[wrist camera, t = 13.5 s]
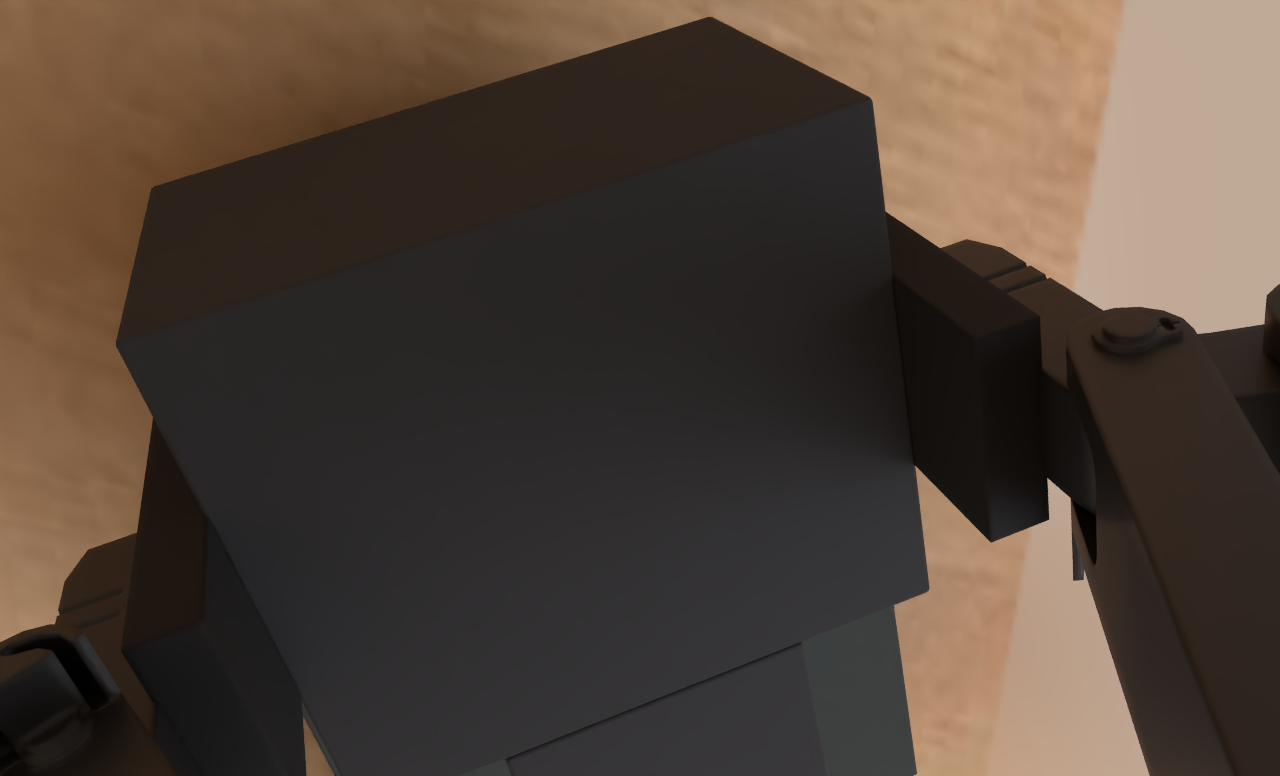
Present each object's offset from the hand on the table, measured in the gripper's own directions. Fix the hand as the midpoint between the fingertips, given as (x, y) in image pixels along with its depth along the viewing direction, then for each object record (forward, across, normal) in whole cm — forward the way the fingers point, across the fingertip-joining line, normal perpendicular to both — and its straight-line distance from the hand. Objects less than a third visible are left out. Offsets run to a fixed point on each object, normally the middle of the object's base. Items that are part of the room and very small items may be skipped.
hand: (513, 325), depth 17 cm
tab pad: (0, 0, -2) cm, 2 cm away
